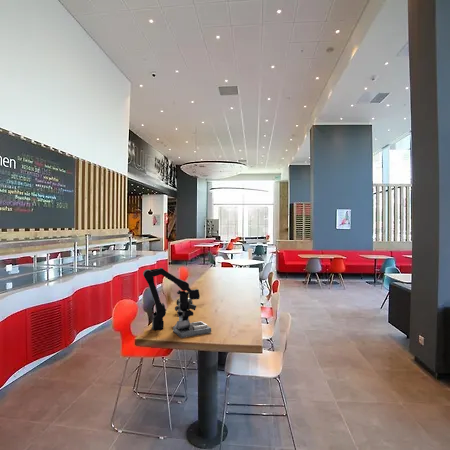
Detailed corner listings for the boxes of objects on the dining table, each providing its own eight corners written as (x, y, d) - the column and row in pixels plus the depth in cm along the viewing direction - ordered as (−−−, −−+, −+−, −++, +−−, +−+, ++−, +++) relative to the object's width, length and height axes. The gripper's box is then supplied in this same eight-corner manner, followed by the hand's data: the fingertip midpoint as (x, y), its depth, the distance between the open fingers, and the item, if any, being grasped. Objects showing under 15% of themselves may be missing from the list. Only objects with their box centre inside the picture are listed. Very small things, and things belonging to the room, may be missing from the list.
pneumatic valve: (178, 311, 245) (178, 296, 245) (192, 312, 243) (192, 296, 243) (175, 313, 239) (176, 297, 239) (190, 314, 238) (190, 298, 238)
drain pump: (181, 327, 204) (181, 316, 204) (178, 325, 209) (178, 315, 209) (188, 326, 207) (188, 315, 207) (185, 324, 211) (185, 314, 211)
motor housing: (179, 338, 184) (179, 324, 184) (171, 331, 196) (171, 318, 196) (211, 332, 194) (211, 319, 195) (201, 326, 207) (201, 314, 207)
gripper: (200, 301, 204) (200, 325, 204) (189, 296, 220) (189, 318, 220) (184, 303, 198) (184, 328, 198) (174, 298, 215) (174, 320, 214)
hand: (183, 323), depth 208 cm, fingers closed on drain pump, 5 cm apart
